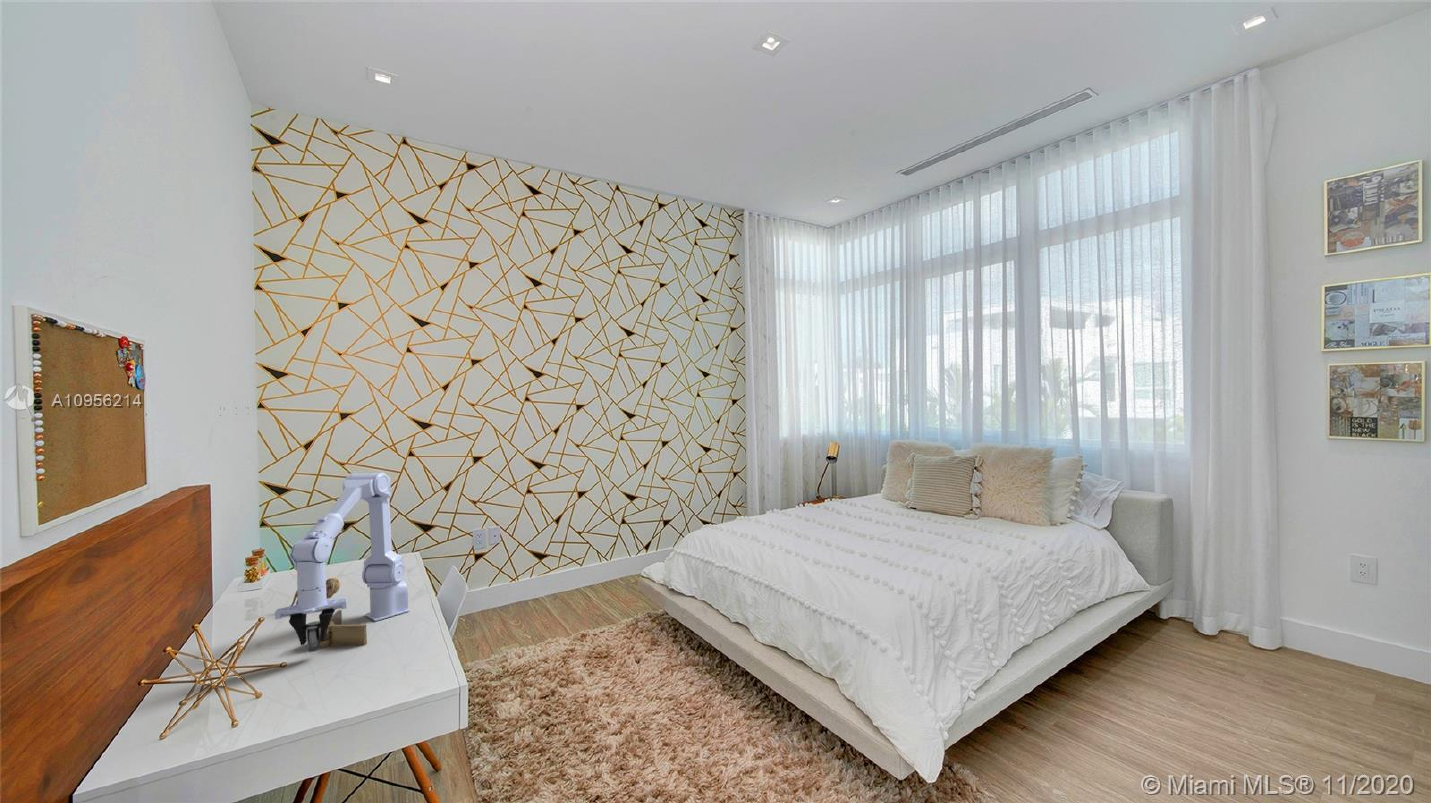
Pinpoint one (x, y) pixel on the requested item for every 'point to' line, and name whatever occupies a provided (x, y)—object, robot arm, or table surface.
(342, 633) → the tan hinge leaf
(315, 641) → the hinge pin
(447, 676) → the table surface
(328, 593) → the lion figurine
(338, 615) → the leaf
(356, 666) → the table surface
